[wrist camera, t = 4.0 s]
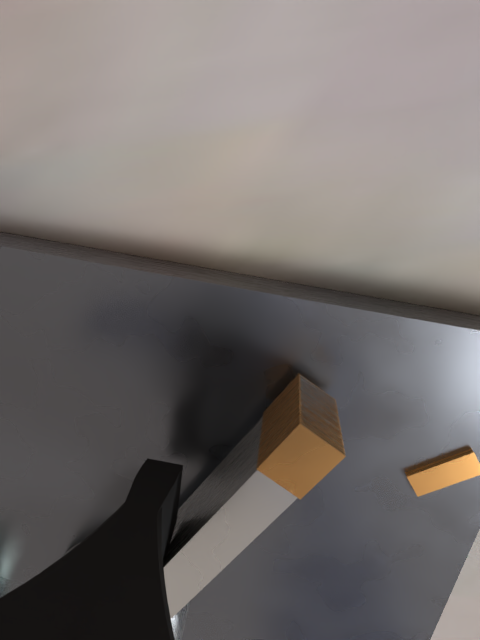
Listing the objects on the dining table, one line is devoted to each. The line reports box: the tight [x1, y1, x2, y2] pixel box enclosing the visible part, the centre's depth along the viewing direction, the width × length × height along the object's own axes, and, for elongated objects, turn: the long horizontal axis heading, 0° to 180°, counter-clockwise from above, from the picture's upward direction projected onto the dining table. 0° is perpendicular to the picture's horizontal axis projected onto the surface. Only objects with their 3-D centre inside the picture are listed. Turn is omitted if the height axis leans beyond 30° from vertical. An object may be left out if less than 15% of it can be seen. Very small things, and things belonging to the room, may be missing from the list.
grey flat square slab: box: [0, 232, 480, 640], centre depth 15 cm, size 20×20×3 cm
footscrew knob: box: [64, 373, 346, 640], centre depth 13 cm, size 14×5×3 cm, turn 144°
